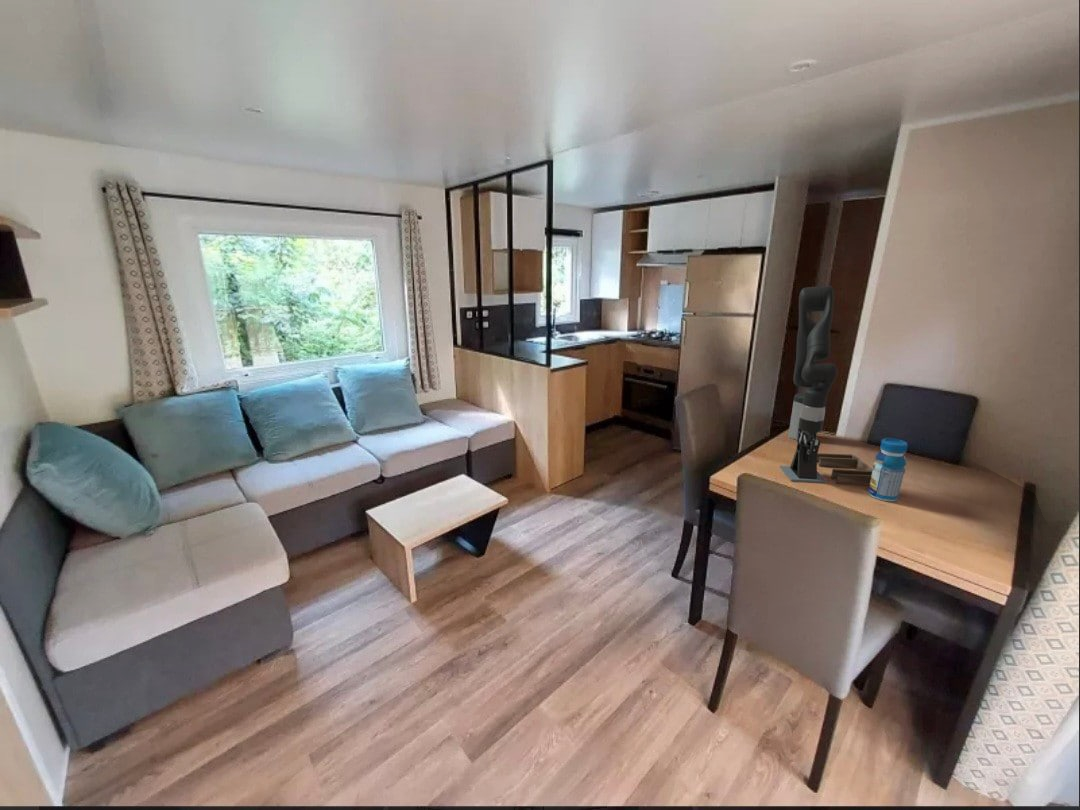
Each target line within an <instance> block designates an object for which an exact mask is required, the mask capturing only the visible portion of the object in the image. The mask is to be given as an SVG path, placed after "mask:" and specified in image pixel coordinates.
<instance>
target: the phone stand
mask: <svg viewBox="0 0 1080 810" xmlns="http://www.w3.org/2000/svg"><path fill="white" fill-rule="evenodd" d="M808 445H809V444H808ZM809 446H810V445H809ZM809 449H810V448H809ZM805 458H806V448H805V443H797V444H796V450H795V453H794V455H793V459H792V461H791V463H790V465H789V466H790V469H791V470H792V471H793V472H794V473H795V474H796V475H797V477H798V478H809V479H817V471H818V462H817V455H813V461H812V463H811V464H806V463H805Z"/></svg>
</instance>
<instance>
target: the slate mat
mask: <svg viewBox="0 0 1080 810" xmlns="http://www.w3.org/2000/svg"><path fill="white" fill-rule="evenodd" d="M790 466H791V465H779V468H781V471H782V472H783V474H784V475H785V476H786V477H787V478H788V479H789V481H790V482H796V483H797V482H799V483H818V484H820V483H821V484H828V483H827V482H828V481H827V479H826V478H825V477H823V475H821V473H820V472H819V471H818V470H817V479H809V478H798V477H797V475H796V474H795V473H794V472H793V471H792V470H791V469H790Z"/></svg>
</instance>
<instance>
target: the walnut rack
mask: <svg viewBox="0 0 1080 810" xmlns="http://www.w3.org/2000/svg"><path fill="white" fill-rule="evenodd" d="M817 466H818V467H827V468H829V467H830V468H831V467H832V471H831V477H830V478H831V479H833V480H835V483H836V484H838V485H856V486H869V485H870V480H871V476H872V471H873V467H871V466H869V465H868V464H866V463H865V462H864V461H863V460H862V459H860V458H859V457H858V456H856V455H855V454H849V453H848V454H847V453H846V454H845V453H827V452H826V453H825V452H823V453H822V452H818V454H817ZM839 468H840V469H839ZM841 468H842V469H841ZM843 468H847V469H843ZM851 468H853V469H851Z"/></svg>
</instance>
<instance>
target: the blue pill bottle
mask: <svg viewBox="0 0 1080 810" xmlns="http://www.w3.org/2000/svg"><path fill="white" fill-rule="evenodd" d="M908 446H909V445H908V443H907V442H906V441H905V440H902V439H898V438H894V437H893V438H891V437H884V438H882V439H881V442H880V447H879V448H880V451H879V452H878V453H877V454H876V455H875V457H874V459H875V461H874V462H873V464H872V469H873V471H872V476H871V480H870V485H868V490H867V493H868V495H870V497H872V498H874V499H876V500H879V501H884V502H896V501H897V500H898V499H899V494H900V491H901V486H902V484H903V483H902V482H903V479H904V475H905V472H906V468H905V467H906V465H907V458H906V456H905V454H906V453H907V450H908Z"/></svg>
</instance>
